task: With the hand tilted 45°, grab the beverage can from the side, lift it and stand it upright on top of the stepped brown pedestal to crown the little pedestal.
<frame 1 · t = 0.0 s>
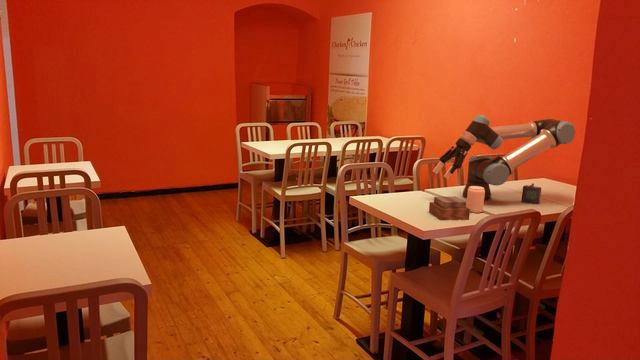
hand: (440, 175, 267), 15 cm above the table, tool tilted 35°, fingers open, 13 cm apart
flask: (530, 203, 280), on the table
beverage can: (474, 211, 258), on the table
stepped brown pedestal: (448, 215, 248), on the table
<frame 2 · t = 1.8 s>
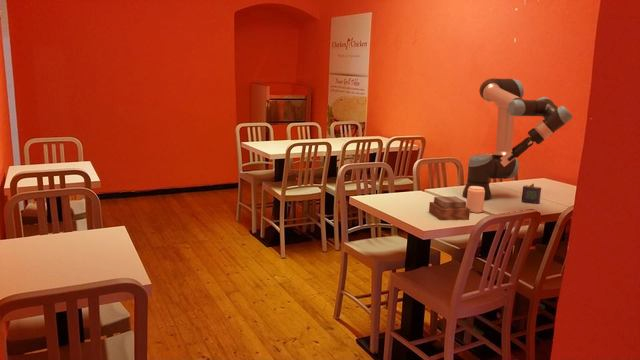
hand: (502, 162, 250), 25 cm above the table, tool tilted 45°, fingers open, 13 cm apart
nothing on the table moved.
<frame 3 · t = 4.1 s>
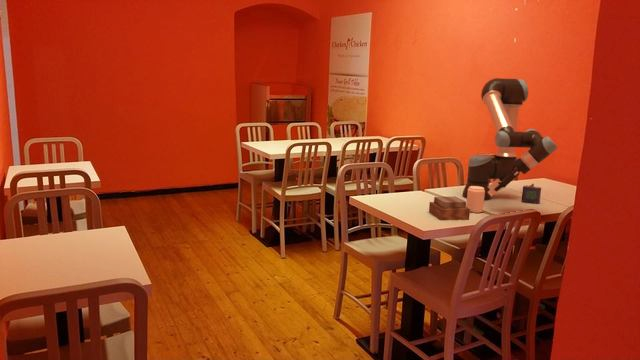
hand: (489, 191, 253), 11 cm above the table, tool tilted 45°, fingers open, 13 cm apart
nothing on the table moved.
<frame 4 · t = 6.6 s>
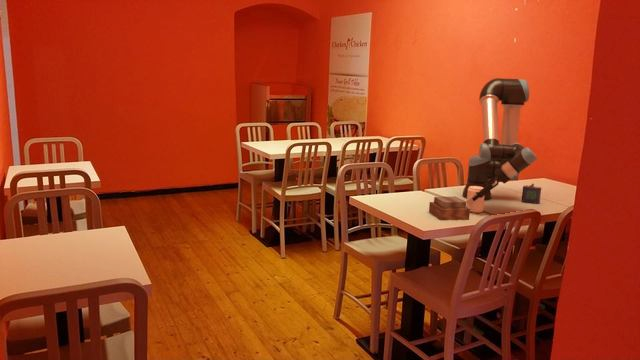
hand: (468, 201, 259), 4 cm above the table, tool tilted 45°, fingers closed on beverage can, 8 cm apart
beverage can: (474, 211, 258), on the table, touching gripper
everything else where it was.
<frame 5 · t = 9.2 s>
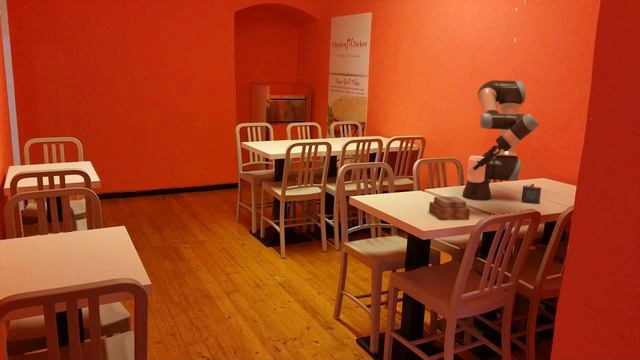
hand: (468, 171, 253), 20 cm above the table, tool tilted 45°, fingers closed on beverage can, 8 cm apart
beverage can: (475, 181, 253), point 15 cm above the table, touching gripper
everything else where it was.
when the fingers open (14 cm above the table, at t = 11.8 s): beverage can drops 1 cm, resting on stepped brown pedestal.
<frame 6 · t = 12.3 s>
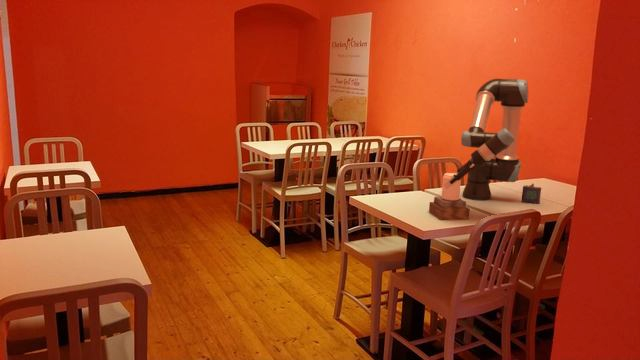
hand: (446, 184, 246), 15 cm above the table, tool tilted 45°, fingers open, 13 cm apart
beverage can: (450, 199, 246), point 8 cm above the table, touching stepped brown pedestal
everything else where it was.
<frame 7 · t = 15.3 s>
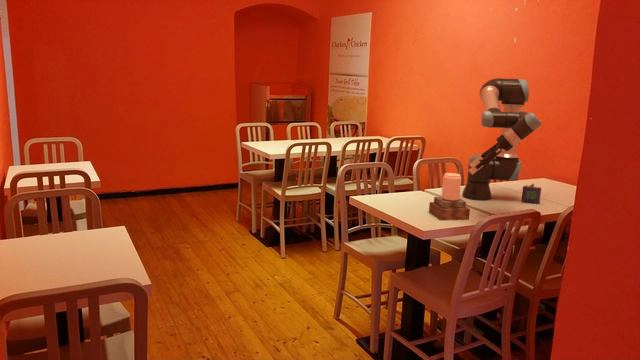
hand: (470, 169, 244), 23 cm above the table, tool tilted 45°, fingers open, 13 cm apart
nothing on the table moved.
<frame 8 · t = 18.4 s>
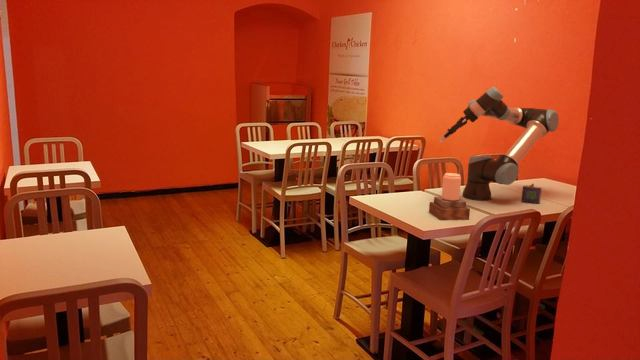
hand: (440, 139, 270), 33 cm above the table, tool tilted 45°, fingers open, 13 cm apart
nothing on the table moved.
at the end: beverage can inside the target area on the stepped brown pedestal (0.2 cm from its centre), point 7.8 cm above the stepped brown pedestal's base; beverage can tilted 0°; the gripper is holding nothing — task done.
